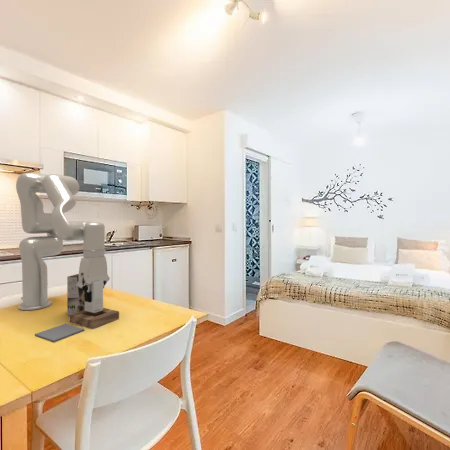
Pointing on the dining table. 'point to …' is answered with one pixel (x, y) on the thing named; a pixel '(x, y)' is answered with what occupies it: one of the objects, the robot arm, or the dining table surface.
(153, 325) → the dining table surface
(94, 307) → the skincare box
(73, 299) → the coffee box
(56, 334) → the coaster
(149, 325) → the dining table surface
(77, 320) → the pocket block
